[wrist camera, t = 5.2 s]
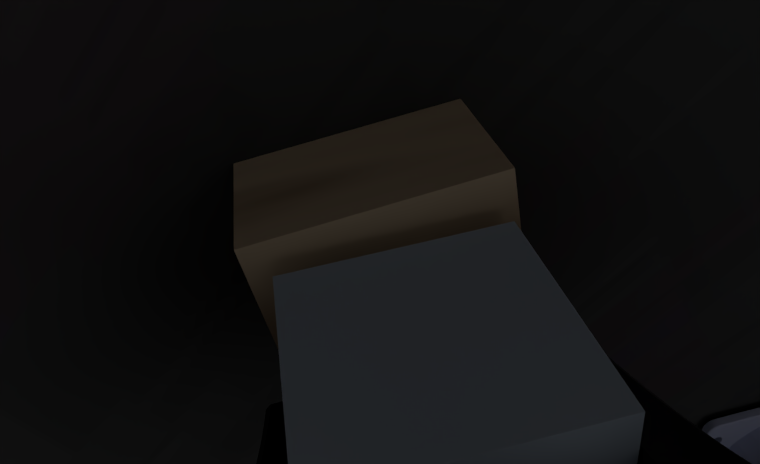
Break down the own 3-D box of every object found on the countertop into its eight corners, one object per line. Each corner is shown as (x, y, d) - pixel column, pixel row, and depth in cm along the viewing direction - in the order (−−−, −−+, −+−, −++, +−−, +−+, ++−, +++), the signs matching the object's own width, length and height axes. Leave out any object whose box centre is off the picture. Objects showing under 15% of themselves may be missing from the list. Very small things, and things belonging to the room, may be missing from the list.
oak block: (484, 270, 20) (534, 362, 16) (300, 325, 20) (313, 429, 16) (458, 96, 16) (515, 168, 13) (233, 160, 16) (233, 250, 13)
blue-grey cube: (517, 385, 16) (618, 587, 12) (320, 435, 15) (352, 662, 11) (514, 221, 13) (645, 412, 9) (272, 276, 12) (290, 503, 8)
